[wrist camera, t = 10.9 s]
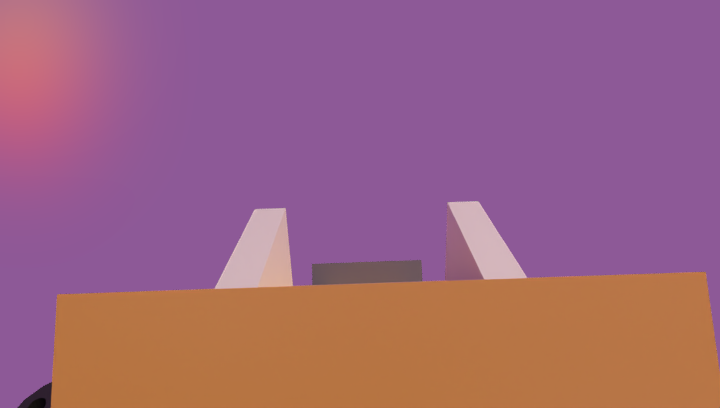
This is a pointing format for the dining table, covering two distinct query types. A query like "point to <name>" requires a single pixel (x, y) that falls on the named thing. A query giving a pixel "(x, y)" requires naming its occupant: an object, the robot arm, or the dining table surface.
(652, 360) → the orange bar
